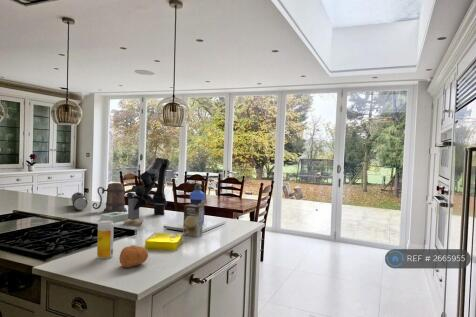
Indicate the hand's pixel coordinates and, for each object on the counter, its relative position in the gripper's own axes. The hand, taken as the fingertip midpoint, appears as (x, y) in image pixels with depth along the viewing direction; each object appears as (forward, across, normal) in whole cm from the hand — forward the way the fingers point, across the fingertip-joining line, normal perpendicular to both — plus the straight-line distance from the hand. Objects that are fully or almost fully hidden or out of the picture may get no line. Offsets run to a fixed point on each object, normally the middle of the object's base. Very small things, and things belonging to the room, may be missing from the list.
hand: (131, 209), depth 195 cm
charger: (+3, 0, +5) cm, 6 cm away
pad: (+6, 0, +7) cm, 9 cm away
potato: (+39, +54, -26) cm, 72 cm away
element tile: (+21, +45, -7) cm, 50 cm away
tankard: (-6, -42, +19) cm, 47 cm away
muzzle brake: (-1, -70, +15) cm, 72 cm away
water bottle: (-12, +29, +25) cm, 40 cm away
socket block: (+6, -16, +7) cm, 19 cm away
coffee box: (+4, +44, +9) cm, 45 cm away
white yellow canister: (+40, +38, -27) cm, 61 cm away
